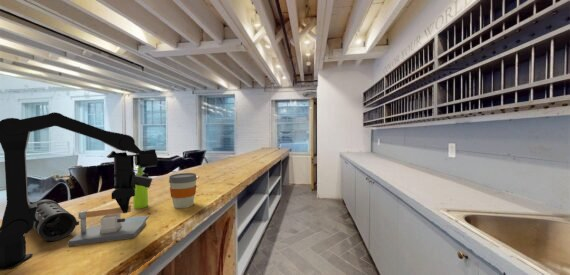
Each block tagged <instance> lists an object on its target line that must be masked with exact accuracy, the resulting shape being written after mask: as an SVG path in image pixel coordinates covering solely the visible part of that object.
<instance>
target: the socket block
mask: <svg viewBox="0 0 570 275" xmlns="http://www.w3.org/2000/svg"><path fill="white" fill-rule="evenodd" d="M146 220H147V219H146ZM146 220H144V221H135V222H125V223H122V222H121V223H122V225H121V228H120V229H119V230H118V231H116V232H109V233H101V232H100V229H101V224H99V225H90V226H88V227H87V218H83V219H80V233H78V234H76V236H74V237H72V238H71V239H70V240H68V242H67V243H68V247H72V246H80V245H88V244H95V243H102V242H110V241H111V242H112V241H119V240H127V239H135V237H136V236H137V235H138V234H139V233H140V232H141V231H142V229H143V228H144V226H146V224H147V223H146V222H147V221H146Z"/></svg>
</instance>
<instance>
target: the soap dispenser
mask: <svg viewBox="0 0 570 275" xmlns="http://www.w3.org/2000/svg"><path fill="white" fill-rule="evenodd" d="M134 170H137V172H135V175H140V176H141V175H143V174H144V173H145V172H144V171H143V168H139V167H138V165H137V166H136V167H134ZM135 187H136V188H135V196H133V209H136V208H137V209H144V208H146V207H148V206H149V196H148V194H149V192H148V188H147V187H145V186H139V185H135Z"/></svg>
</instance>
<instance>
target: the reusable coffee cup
mask: <svg viewBox="0 0 570 275" xmlns="http://www.w3.org/2000/svg"><path fill="white" fill-rule="evenodd" d="M168 177H169V179H168V183H169V186H170V187H169V191H170V192H169V193H170V198H172V206H173V208H174V209H175V208H176V209H185V208H189V207H192V206H193V205H194V201H195V195H196V193H197V192H196V191H197V180H198V177H197V173H194V172H185V173H175V174H171V175H169V176H168Z"/></svg>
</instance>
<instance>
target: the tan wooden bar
mask: <svg viewBox="0 0 570 275" xmlns="http://www.w3.org/2000/svg"><path fill="white" fill-rule="evenodd" d="M131 211H132V205H131V204H129V207H128V212H127V213H131ZM118 213H120V214H124V213H123V211H122V210H121V208H120V206H114V207H107V208H100V209H90V210H81V211H79V212H78V219H79V220H81V219H83V218H86V219H87V218H95V217H104V216H105V215H111V214H118Z"/></svg>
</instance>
